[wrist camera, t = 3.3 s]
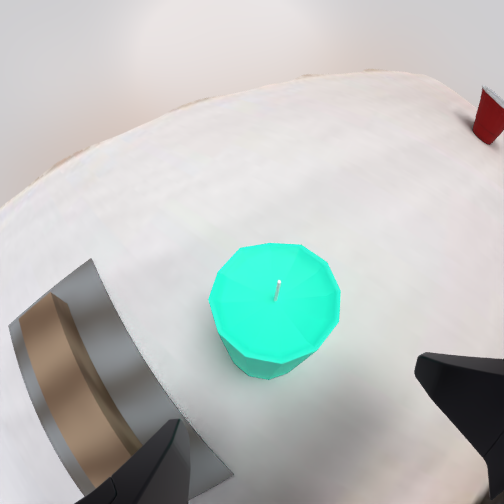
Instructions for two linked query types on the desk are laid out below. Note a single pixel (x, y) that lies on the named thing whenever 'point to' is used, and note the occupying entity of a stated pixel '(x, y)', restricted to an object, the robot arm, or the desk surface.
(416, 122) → the desk surface
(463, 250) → the desk surface
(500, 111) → the plastic cup
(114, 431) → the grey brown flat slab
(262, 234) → the desk surface
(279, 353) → the candle
